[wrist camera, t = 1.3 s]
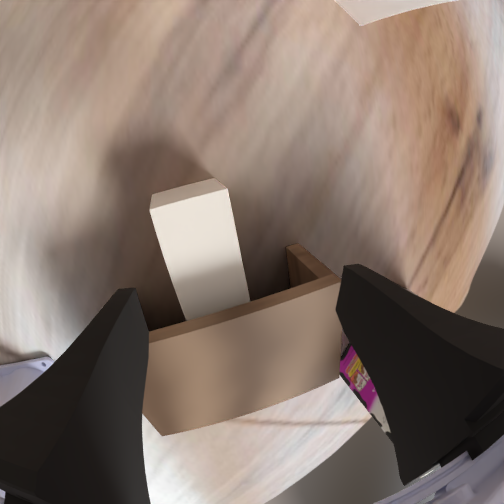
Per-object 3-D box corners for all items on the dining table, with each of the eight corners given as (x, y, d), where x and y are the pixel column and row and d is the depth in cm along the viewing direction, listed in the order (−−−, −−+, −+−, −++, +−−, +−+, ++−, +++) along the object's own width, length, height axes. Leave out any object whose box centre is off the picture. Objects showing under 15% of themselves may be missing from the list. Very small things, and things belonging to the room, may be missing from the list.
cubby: (156, 380, 22) (162, 436, 17) (111, 297, 18) (100, 355, 13) (306, 333, 25) (338, 377, 20) (298, 243, 21) (342, 280, 16)
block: (188, 310, 21) (196, 345, 17) (152, 193, 17) (149, 209, 13) (239, 295, 21) (255, 327, 18) (213, 177, 18) (227, 188, 14)
